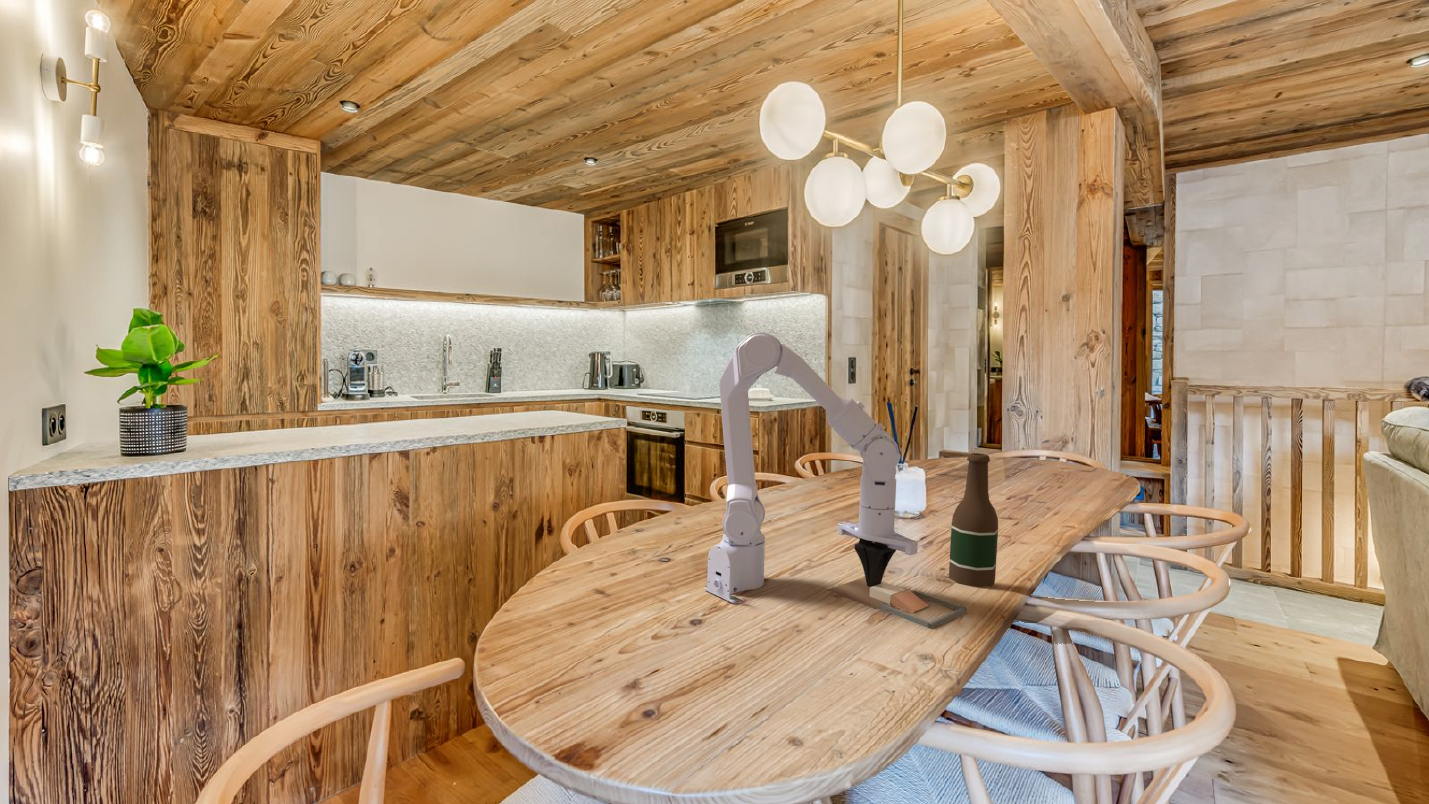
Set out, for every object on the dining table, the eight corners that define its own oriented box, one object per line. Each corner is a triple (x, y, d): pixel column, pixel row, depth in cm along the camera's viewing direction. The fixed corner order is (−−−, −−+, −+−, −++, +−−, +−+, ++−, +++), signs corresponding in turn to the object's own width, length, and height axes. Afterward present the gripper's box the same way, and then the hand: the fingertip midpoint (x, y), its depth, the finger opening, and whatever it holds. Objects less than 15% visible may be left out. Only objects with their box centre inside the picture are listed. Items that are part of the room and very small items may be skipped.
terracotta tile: (910, 619, 99) (913, 611, 99) (890, 602, 102) (893, 595, 101) (924, 613, 102) (928, 605, 101) (905, 596, 104) (908, 589, 104)
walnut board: (875, 618, 100) (875, 608, 100) (826, 598, 108) (826, 589, 108) (916, 602, 107) (916, 593, 107) (867, 584, 115) (867, 576, 114)
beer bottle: (999, 598, 110) (1008, 459, 108) (951, 593, 111) (959, 456, 109) (989, 582, 117) (997, 452, 115) (944, 578, 119) (951, 449, 117)
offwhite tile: (890, 604, 102) (890, 595, 102) (869, 596, 105) (869, 587, 105) (904, 598, 104) (905, 589, 104) (884, 591, 107) (884, 582, 107)
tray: (930, 638, 93) (930, 623, 93) (878, 617, 100) (879, 604, 100) (966, 621, 99) (967, 607, 99) (915, 603, 106) (916, 590, 106)
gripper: (930, 511, 103) (926, 594, 104) (857, 494, 114) (854, 569, 115) (904, 517, 98) (900, 604, 99) (830, 499, 109) (828, 577, 110)
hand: (873, 586), depth 107 cm, fingers closed
